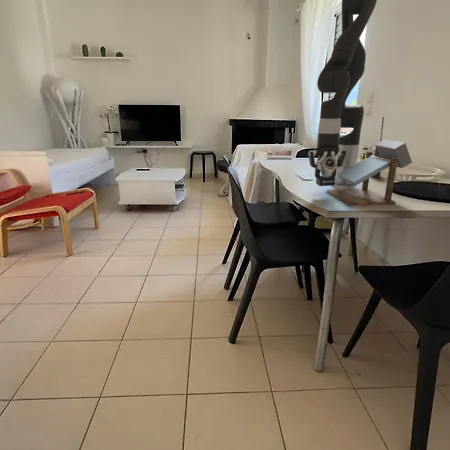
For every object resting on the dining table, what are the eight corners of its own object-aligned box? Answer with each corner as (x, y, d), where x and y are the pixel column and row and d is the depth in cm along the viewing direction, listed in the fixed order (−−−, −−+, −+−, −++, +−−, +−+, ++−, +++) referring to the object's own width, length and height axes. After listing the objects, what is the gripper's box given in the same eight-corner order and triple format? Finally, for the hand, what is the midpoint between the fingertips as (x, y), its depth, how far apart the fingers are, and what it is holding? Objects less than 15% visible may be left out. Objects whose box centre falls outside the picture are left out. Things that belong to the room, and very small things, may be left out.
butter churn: (387, 178, 157) (397, 117, 147) (365, 177, 160) (374, 117, 150) (385, 175, 165) (394, 116, 155) (364, 174, 168) (372, 116, 158)
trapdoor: (390, 157, 128) (383, 139, 125) (413, 162, 115) (406, 142, 112) (342, 184, 130) (334, 167, 127) (358, 193, 117) (350, 174, 114)
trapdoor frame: (367, 190, 135) (372, 151, 129) (394, 204, 116) (402, 158, 111) (326, 192, 134) (330, 152, 128) (348, 205, 115) (354, 159, 109)
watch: (321, 187, 121) (324, 157, 117) (314, 182, 128) (316, 153, 124) (336, 186, 121) (339, 156, 117) (328, 181, 128) (331, 153, 125)
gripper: (344, 130, 122) (339, 175, 128) (306, 131, 121) (303, 176, 127) (353, 132, 115) (347, 179, 121) (312, 133, 114) (309, 181, 120)
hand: (324, 178), depth 124 cm, fingers closed on watch, 5 cm apart
